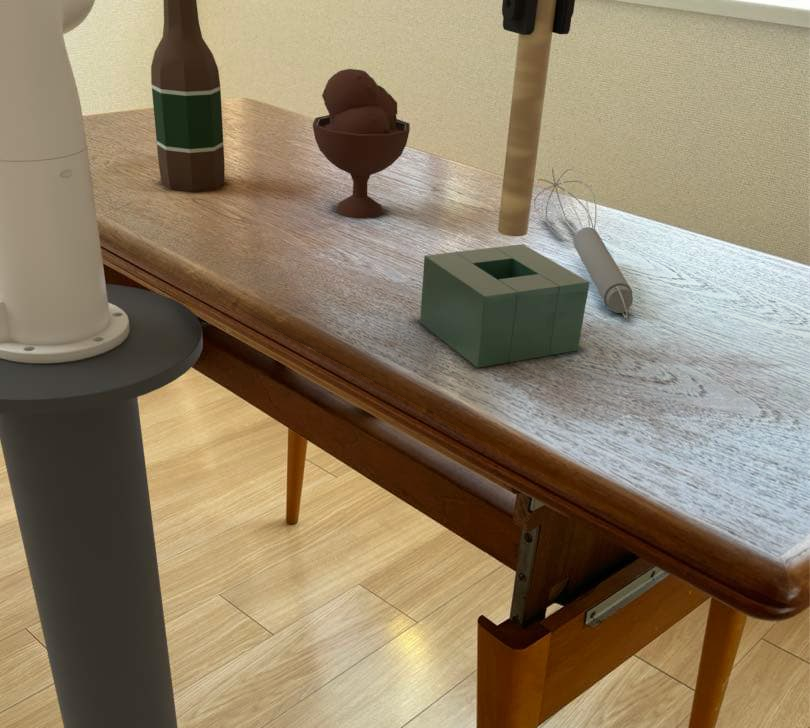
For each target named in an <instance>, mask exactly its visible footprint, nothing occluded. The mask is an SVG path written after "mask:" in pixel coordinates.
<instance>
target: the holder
mask: <svg viewBox="0 0 810 728" xmlns="http://www.w3.org/2000/svg"><path fill="white" fill-rule="evenodd" d="M589 288H590V281H588V279H585V278H583V277H581V276H580V275H578V274H577V273H574V272H573V271H571V270H569V269H568V268H566V267H564V266H563V265H560V264H559V263H557V262H555V261H554V260H553V259H550V258H548V257H547V256H545V255H543V254H541V253H539V252H538V251H536V250H534V249H533V248H531V247H529V246H527V245H525V244H524V243H522V244H521V243H520V244H511V245H503V246H497V247H496V246H495V247H486V248H477V249H467V250H461V251H453V252H444V253H435V254H427V255H424V259H423V272H422V287H421V300H420V301H421V302H420V316H419V323H420V324H421V325H422V326H423V327H425V328H426V329H427V330H429V331H430V332H431V333H433V334H434V335H435V336H437V337H438V338H439V339H440V340H441V341H443V342H444V343H446V345H448V346H449V347H450V348H451V349H452V350H454V351H455V352H457V353H458V354H459V355H460V356H462V357H463V358H465V360H466V361H468V362H469V363H470V364H472V365H473V366H474V367H475V368H478V369H479V368H485V367H490V366H496V365H502V364H507V363H513V362H520V361H525V360H530V359H537V358H542V357H543V358H544V357H549V356H554V355H561V354H566V353H571V352H576V351H578V350H579V345H580V340H581V334H582V329H583V323H584V318H585V311H586V306H587V300H588V296H589V295H588V294H589Z"/></svg>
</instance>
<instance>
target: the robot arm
mask: <svg viewBox="0 0 810 728" xmlns="http://www.w3.org/2000/svg"><path fill="white" fill-rule="evenodd" d="M95 2H96V0H0V358H1V359H4V360H8V361H13V362H19V363H29V364H53V363H65V362H72V361H78V360H83V359H87V358H91V357H94V356H97V355H100V354H103V353H105V352H108V351H110V350H112V349H114V348H115V347H117V346H118V345H120V344H121V343H122V342H123V341H124V340H125V339H126V338H127V336H128V334H129V332H130V326H129V319H128V316H127V314H126V313H125V312H124V311H123V310H122V309H120V308H119V307H117V306H115V305H113V304H111V303H108V298H107V291H106V284H107V283H106V276H105V269H104V262H103V255H102V247H101V239H100V231H99V224H98V217H97V209H96V208H97V207H96V201H95V194H94V186H93V180H92V179H93V178H92V172H91V171H92V170H91V164H90V156H89V150H88V144H87V137H86V129H85V123H84V122H85V121H84V116H83V111H82V104H81V99H80V95H79V90H78V86H77V82H76V78H75V74H74V71H73V67H72V64H71V60H70V58H69V54H68V50H67V47H66V43H65V38H64V35H65V34H68V33H70V32H72V31H73V30H75V29H76V28H77V27H78V26H80V25H81V24H82V23H83V22H84V21H85V20H86V19H87V17H88V16H89V14H90V13H91V11H92V9H93V7H94V5H95ZM537 2H538V0H502V5H501V14H502V29H503V30H505V31H508V32H511V33H514V34H518V35H519V34H522V35H531V33H533V31H534V28H535V19H536V10H537ZM575 3H576V0H556V8H555V16H554V24H553V32H552V34H558V35H568V34H569V33H570V31H571V23H572V17H573V16H574V10H575V5H576V4H575Z"/></svg>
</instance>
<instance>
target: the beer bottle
mask: <svg viewBox="0 0 810 728" xmlns="http://www.w3.org/2000/svg"><path fill="white" fill-rule="evenodd" d="M162 28H163V30H162V37H161V39H160V41H159V43H158V45H157V46H156V48H155V51H154V53H153V57H152V62H151V65H150V79H151V94H152V106H153V115H154V127H155V138H156V139H155V140H156V148H157V160H158V168H159V175H160V181H161V183H162V184H163V185H165V186H166V187H168V188H169V190H173V191H181V192H182V191H183V192H191V193H195V192H205V191H214V190H216V189H218V188H219V187H221V186H222V185H224V183H225V179H226V177H225V169H226V168H225V167H226V165H225V147H224V129H223V111H222V92H221V91H222V90H221V89H222V88H221V81H220V79H221V78H220V72H219V71H220V70H219V67H218V64H217V62H216V59H215V57H214V54H213V52H212V50H211V49H210V48H209V46H208V44H207V43H206V41H205V39H204V38H203V35H202V34H203V33H202V29H201V26H200V20H199V12H198V3H197V0H163V27H162Z"/></svg>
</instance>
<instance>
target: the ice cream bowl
mask: <svg viewBox="0 0 810 728" xmlns="http://www.w3.org/2000/svg"><path fill="white" fill-rule="evenodd" d="M321 97H322V99H323V102H324V106H325V108H326V110H327V112H328V114H327V115H321V116H319V117H315V118H314V120H313V121H312V129H313V134H314V140H315V142H316V144H317V147H318V149H319V151H320V152H321V154H323V156H324V157H325V159H326V160H328V162H330V163H331V164H332V165H334V166H335V167H336V168H338V169H339V170H341V171H343V172H346V173H347V174H350V177H351V180H352V194H351V195H349V196H348V197H346V198H343V200H341V201H339V202H338V204H337V207H336V213H338V214H340V215H342V216H344V217H350V218H357V219H363V218H364V219H365V218H375V217H378V216H381V215H383V207H382V204H381V203H379V202H377V201H376V200H375V199H373V198H372V197H371V196H369V195H368V182H369V179H370V178H371V175H374V174H378V173H381V172H383V171H384V170H386V169H387V168H388V167H391V166H392V165H393V164H394V163H395V162H396V161H397V160H399V158H400V157H401V156H402V155H403V152H404V150H405V148H406V146H407V143H408V139H409V135H410V131H411V130H410V128H411V127H410V126H411V125H410V123H409V122H406V121H404V120H401V119H398V118H397V115H398V101H396V99H395V98H394V97H393V96H392V95H391V94H390V93H389V92H388V91H387V90H386V89H385V88H384V87H383V86H382V85H380V84H378V83H377V82H376V81H375V79H374V78H373V77H371V76H370V74H369V73H368V72H366V71H365V70H363V69H355V68H347V69H346V68H345V69H341V70H339V71H337V72H336V73H334V74H333V75H332V76H331V77H330V78H329V79H328V80H327V82H326V84H325V86H324V89H323V91H322V95H321Z"/></svg>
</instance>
